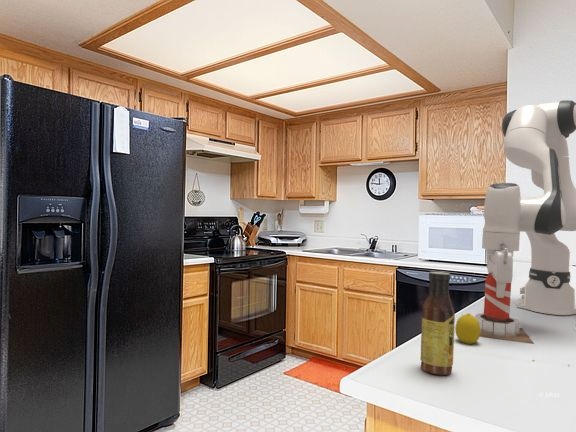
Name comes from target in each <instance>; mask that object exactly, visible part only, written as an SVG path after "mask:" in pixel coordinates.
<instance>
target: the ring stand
mask: <svg viewBox="0 0 576 432" xmlns="http://www.w3.org/2000/svg"><path fill="white" fill-rule="evenodd" d="M479 338H486V339H493V340H501V341H502V340H503V341H510V342H516V343H524V344H533V345H535V343H534V341H533V340H532V338H531V337H530V336H529V334H528V333H527V332H526V331H525V329H524V328H523V327H520V328H519V336H517V337H497V336H491V335H487V334H484V333H481V332H480V337H479Z"/></svg>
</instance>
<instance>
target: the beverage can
mask: <svg viewBox="0 0 576 432" xmlns="http://www.w3.org/2000/svg"><path fill="white" fill-rule="evenodd" d="M487 273H488V275H487V276H486V278H485V285H484V299H483V300H484V301H483V302H484V304H483V313H484V315H485V316H486V317H487V318H489V319H492V320H498V321H505V320H506V319H509V317H510V315H511V314H510V312H511V294H512V282H511V283H506V288H505V291H504V297H503V298H499V297H497V296H496V285H497V284H496V280H495V279H494V278H493V277H492V274H491V272H490V273H489V272H487Z"/></svg>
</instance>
